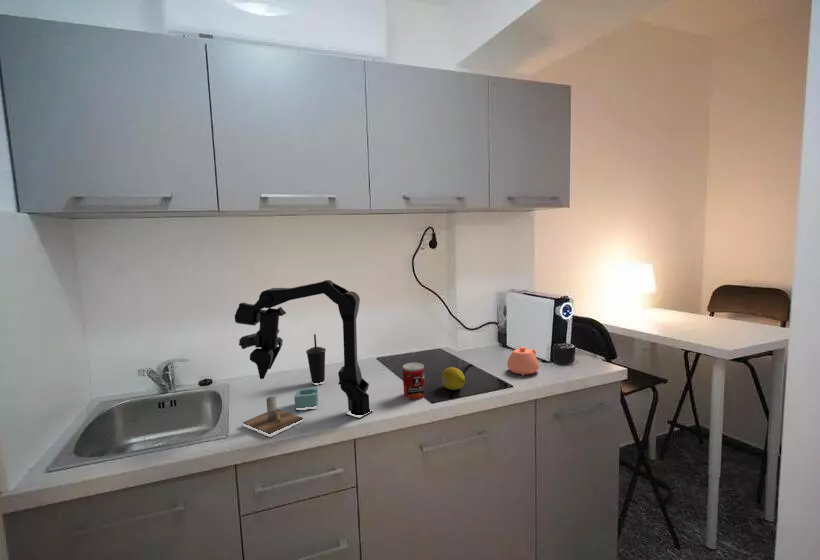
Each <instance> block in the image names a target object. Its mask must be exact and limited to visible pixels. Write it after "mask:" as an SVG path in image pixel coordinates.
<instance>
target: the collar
mask: <svg viewBox="0 0 820 560" xmlns="http://www.w3.org/2000/svg"><path fill="white" fill-rule="evenodd" d="M317 401H318V402H319V391H318V387H310V388H309V387H307V388H299V389H296V391H295V394H294V407H295V408H305V407H314V406H317V407H318V404H317Z"/></svg>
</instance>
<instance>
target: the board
mask: <svg viewBox="0 0 820 560" xmlns="http://www.w3.org/2000/svg"><path fill="white" fill-rule="evenodd" d="M266 410H267V411H266V412H263V413H261V414H259V415H256V416H255V417H252V418H250V419H248V420H244V421H243V422H242V424H243V423H244V424H246V425H249V426H251V427H253V428H256V429H258V430H261V431H263V432H266V433H268V434H271V433H273V432H275V431H277V430H280V429H282V428H284V427H286V426H289V425H291V424H293V423H296V422H298V421H300V420H302V419H303V420H304V417H302V416H299V415H297V414H293V413H291V412H288V411H284V410H282V409H278V407H277V397H276V396H269V397H267V398H266Z"/></svg>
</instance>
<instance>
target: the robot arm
mask: <svg viewBox="0 0 820 560" xmlns="http://www.w3.org/2000/svg"><path fill="white" fill-rule="evenodd" d="M316 295H317V296H319V295H325V296H326V297H327V298H328V299H329V300H331V302H333V303H334V304H337V307H338V311H339V315H340V318H341V320H342V321H341V322H342V329H343V330H342V332H343V333H342V334H343V362H344V363H343V364H344V365H343V366H342V367H341V368H340V369H339V370H338V372H337V373H338V380H339V381H338V386H339V385H340V389H341V391H342V392H344V393H345V395H346V397H347V406H348V411H351V413H352V414H355V415H364V414H366V413H368V412H370V409H371V408H370V397H369V396H370V395H369V394H368V393H367V391H368V389H369V386H370V384H369V383H368V382H367V381H366V380H365V379H364V378H363V376H362V372H361V371H362V370H361V368H360V365H359V363H358V344H357V343H358V337H357V335H358V334H357V317H358V313H359V309H360V302H361V301H360V300H361V298H360V296H359V295H358V294H357V292H355V291H350V290H349V289H346V288H345V287H343V286H340V285H339V284H336V282H333V281H332V280H331V279H326V280H323V281H319V282H314V283H309V284H303V285H299V286H294V287H272V288H268V289H266V290H263V291H262V292H260V294H259V295H258V296H259V298H258V300H257V301H256V302H255V304H251V303H246V302H241V303H239V304H238V307H237V309H236V312H235V313H234V322H235V323H236V324H238V325H247V326H256V325H257V324H259V329H258V330H257V332H256V333H255V332H254V333H252V334H247V335H244V336H242V337H240V338H239V340H238V345H239V346H240V347H241V350H244V349H247V348H251V347H255V348H254V349H253V350H252V352H250V353H249V361H251V362H252V363H254V364H255V365H256V366H257V367H256V368H257V370H258V371H257V372H258V375H259V379H260V380H264V379H265V377H266V374H267V372H268V371H269V370H271V368H272V366H273V365H274V363H275V360H276V359H277V357H278V354H279V352H280V351H281V349H282V346H283V338H281V337H280V336H278V335H279V333H280V329H279V320H280V317H282V316H284V315H286V314H287V312H286V311H285V310H284V309H283V307H282V306H279V305H281V304H285V303H287V302H289V301H293V300H297V299H302V298H308V297H311V296H316ZM276 306H279V307H278V308H274V307H276Z"/></svg>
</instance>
